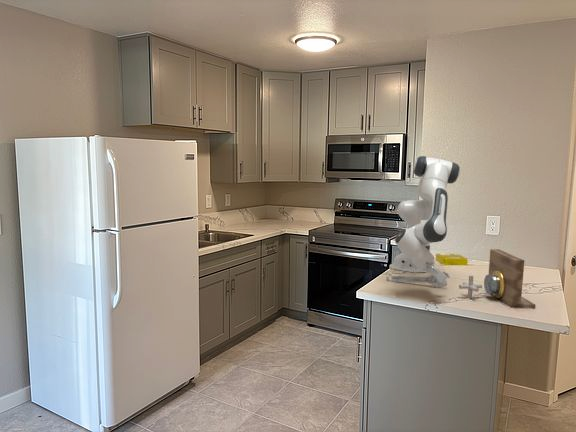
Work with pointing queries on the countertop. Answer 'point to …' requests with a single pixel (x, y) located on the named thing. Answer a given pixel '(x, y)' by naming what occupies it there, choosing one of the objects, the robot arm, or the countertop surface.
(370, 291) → the countertop surface
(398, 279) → the wrench
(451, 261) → the element tile
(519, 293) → the board
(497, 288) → the door knob
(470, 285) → the pipe connector
